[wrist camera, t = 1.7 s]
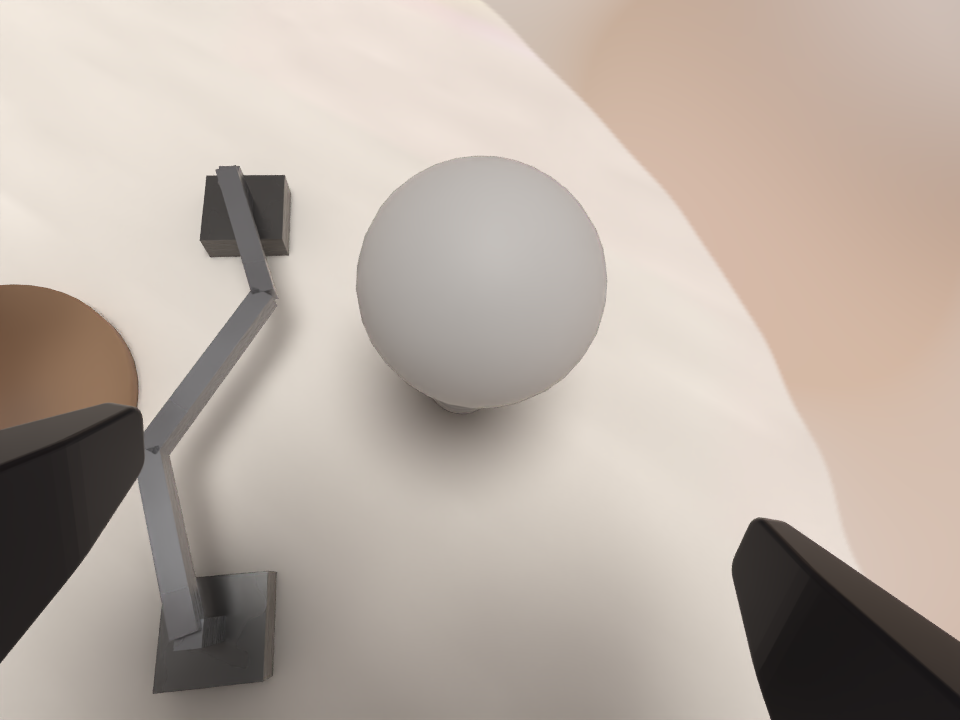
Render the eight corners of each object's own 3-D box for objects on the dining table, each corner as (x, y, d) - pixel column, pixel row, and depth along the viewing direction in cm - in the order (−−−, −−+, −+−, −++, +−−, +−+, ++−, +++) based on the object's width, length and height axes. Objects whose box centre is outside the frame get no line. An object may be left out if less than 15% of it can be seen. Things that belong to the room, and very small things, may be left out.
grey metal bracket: (283, 674, 18) (254, 693, 14) (158, 687, 17) (98, 711, 14) (299, 194, 24) (280, 134, 21) (208, 195, 24) (175, 133, 20)
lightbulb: (572, 397, 22) (706, 232, 12) (452, 504, 20) (487, 419, 10) (467, 287, 23) (505, 53, 13) (344, 378, 21) (277, 186, 11)
